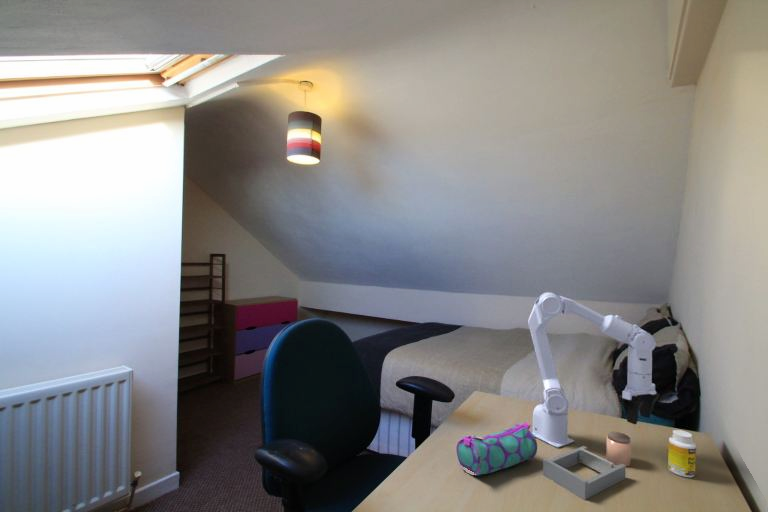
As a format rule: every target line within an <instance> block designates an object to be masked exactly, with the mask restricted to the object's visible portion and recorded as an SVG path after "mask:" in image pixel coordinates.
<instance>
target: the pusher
mask: <svg viewBox="0 0 768 512" xmlns="http://www.w3.org/2000/svg"><path fill="white" fill-rule="evenodd" d="M579 462H580V464H583V465H585V466H587V467H588V468H590V469H593V470H595V471H597V472H599V474H601V473H603V472H605V471H607V470H609V469H611V468H613V467H615V465H614V463H612V462H610V461H608V460H607V459H606V458H603V457H601V456H600V455H597V454H595V453H592V452H590V451H589V450H588V449H587V450H585V449H583V448H581V449H579Z"/></svg>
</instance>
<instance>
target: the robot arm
mask: <svg viewBox="0 0 768 512" xmlns="http://www.w3.org/2000/svg"><path fill="white" fill-rule="evenodd" d="M561 313H562V314H563V315H572V314H573V315H575V316H577V317H579V318H582V319H584V320H585V321H589V322H590V323H593V324H594V325H597V326H599V329H600V331H601V333H603V334H604V335H606V336H609V337H611V338H613V339H615V340H617V341H618V342H621V343H623V344H627V345H628V350H627V353H628V354H627V381H626V382H627V384H626V385H625V388H624V390H622V393H621V394H619V395H618V400H619V401H620V403H621V404H622V407H623V410H624V413H625V417H626V420H627V422H628V423H629V424H633V425H637V424H638V420H639V414H640V416H641V417H643V418H646V419H650V417H651V416H652V415H651V414H652V413H653V412H652V411H653V409H654V406H655V403H656V402H657V400H658V399H659V397H660V393H658V392H657V391H656V384H655V383H653V381H652V378H653V375H652V373H653V372H652V371H653V351H654V350H655V348H656V345H657V342H656V341H655V337H653V335H652V334H651V333H649V332H648V331H646V330H644V329H642V328H641V327H639V325H637V324H635V323H634V324H631V323H630V322H628V321H625V320H623V319H622V316H620V315H618V314H615V315H613V314H608V315H606V316H605V315H602V314H601V313H599V312H596V311H594V310H592V309H591V308H589V307H587V306H585V305H584V304H582V303H579V302H577V301H575V300H573V299H571V298H568V297H565V296H562V295H557V294H555V293H554V292H551V291H547V292H543V293H542V294H541V295H540V296H538V298H537V299H536V300H535V301H534V305H533V307H532V310H531V312H530V315H529V316H528V321H527V323H528V329H529V331H530V336H531V340H532V344H533V348H534V351H535V355H536V360H537V364H538V366H539V371H540V375H541V378H542V384H543V389H542V396H543V398H544V403H543V404H542V403H541V404H540V403H539V404H537V405H536V406H535V407H534V409H533V410H532V411H533V412H532V431H531V432H532V434H533V435H534V437H535V438H537V439H539V440H541V441H543V442H545V443H547V444H549V445H551V446H553V447H555V448H557V449H559V448H561V447H564V446H566V445H570V444H571V443H574V442H575V440H574V439H573V438H570V437H569V436H568V432H569V428H568V426H569V424H568V423H569V401H568V398H567V396H566V395H565V394H566V393H565V390H564V388H563V387H562V386H561V384H560V380H559V375H558V373H557V369H556V364H555V361H554V357H553V353H552V349H551V346H550V341H549V337H548V333H547V330H546V326H547V325H548V324H549V323H550V322H551V320H552V319H554V318H556V317H557V316H558V315H560V314H561ZM636 397H637V398H636Z"/></svg>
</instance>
